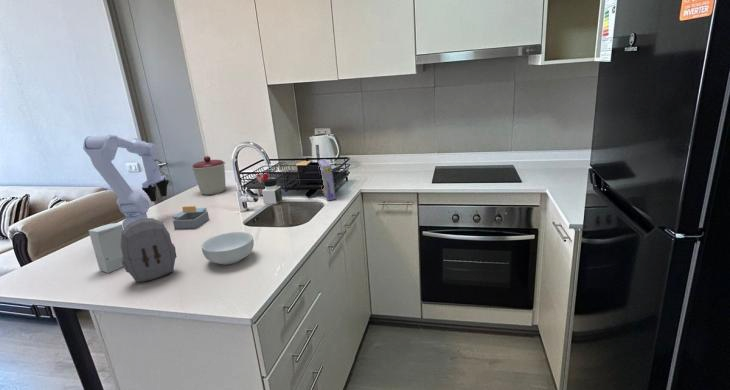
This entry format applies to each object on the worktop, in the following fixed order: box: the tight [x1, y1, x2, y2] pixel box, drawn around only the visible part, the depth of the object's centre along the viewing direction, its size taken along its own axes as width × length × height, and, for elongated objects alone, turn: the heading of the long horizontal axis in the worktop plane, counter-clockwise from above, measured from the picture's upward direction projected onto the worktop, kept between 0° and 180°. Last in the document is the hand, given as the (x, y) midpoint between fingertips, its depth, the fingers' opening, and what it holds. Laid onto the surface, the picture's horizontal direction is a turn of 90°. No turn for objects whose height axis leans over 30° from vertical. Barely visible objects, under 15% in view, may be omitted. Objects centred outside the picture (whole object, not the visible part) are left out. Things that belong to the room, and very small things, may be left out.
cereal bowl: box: [201, 231, 255, 266], centre depth 130 cm, size 17×17×7 cm
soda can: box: [256, 172, 271, 196], centre depth 206 cm, size 7×7×12 cm
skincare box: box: [88, 222, 125, 274], centre depth 130 cm, size 8×6×15 cm
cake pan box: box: [317, 158, 337, 201], centre depth 194 cm, size 19×5×18 cm, turn 14°
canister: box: [190, 155, 227, 196], centre depth 216 cm, size 18×18×21 cm
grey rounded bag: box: [121, 217, 178, 283], centre depth 119 cm, size 15×8×20 cm, turn 127°
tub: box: [172, 210, 210, 230], centre depth 168 cm, size 11×10×4 cm
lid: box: [172, 205, 207, 219], centre depth 183 cm, size 12×11×4 cm
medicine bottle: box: [261, 177, 283, 205], centre depth 191 cm, size 7×7×12 cm
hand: (159, 198), depth 174 cm, fingers open, 7 cm apart
